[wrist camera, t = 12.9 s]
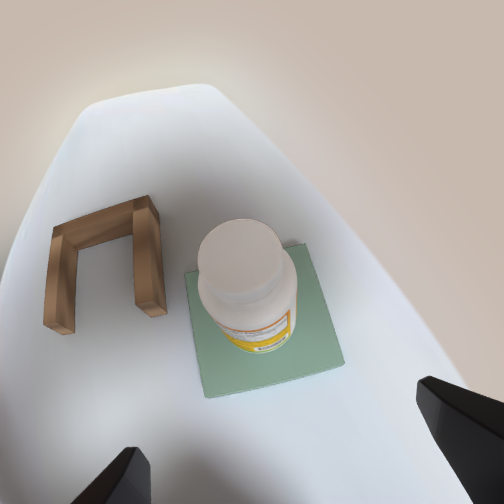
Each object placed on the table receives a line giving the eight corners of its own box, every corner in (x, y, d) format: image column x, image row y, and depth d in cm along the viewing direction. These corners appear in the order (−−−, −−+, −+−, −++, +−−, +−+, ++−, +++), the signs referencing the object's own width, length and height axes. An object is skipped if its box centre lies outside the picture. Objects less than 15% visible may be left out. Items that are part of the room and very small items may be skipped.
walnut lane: (167, 313, 25) (153, 300, 23) (62, 335, 25) (43, 324, 23) (158, 213, 31) (147, 194, 28) (68, 242, 30) (53, 227, 28)
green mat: (342, 365, 22) (344, 362, 21) (208, 398, 22) (204, 397, 20) (304, 250, 27) (305, 243, 26) (188, 279, 27) (184, 273, 26)
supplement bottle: (242, 275, 25) (216, 194, 16) (307, 300, 23) (315, 224, 15) (209, 336, 23) (161, 281, 14) (277, 366, 21) (268, 328, 13)
